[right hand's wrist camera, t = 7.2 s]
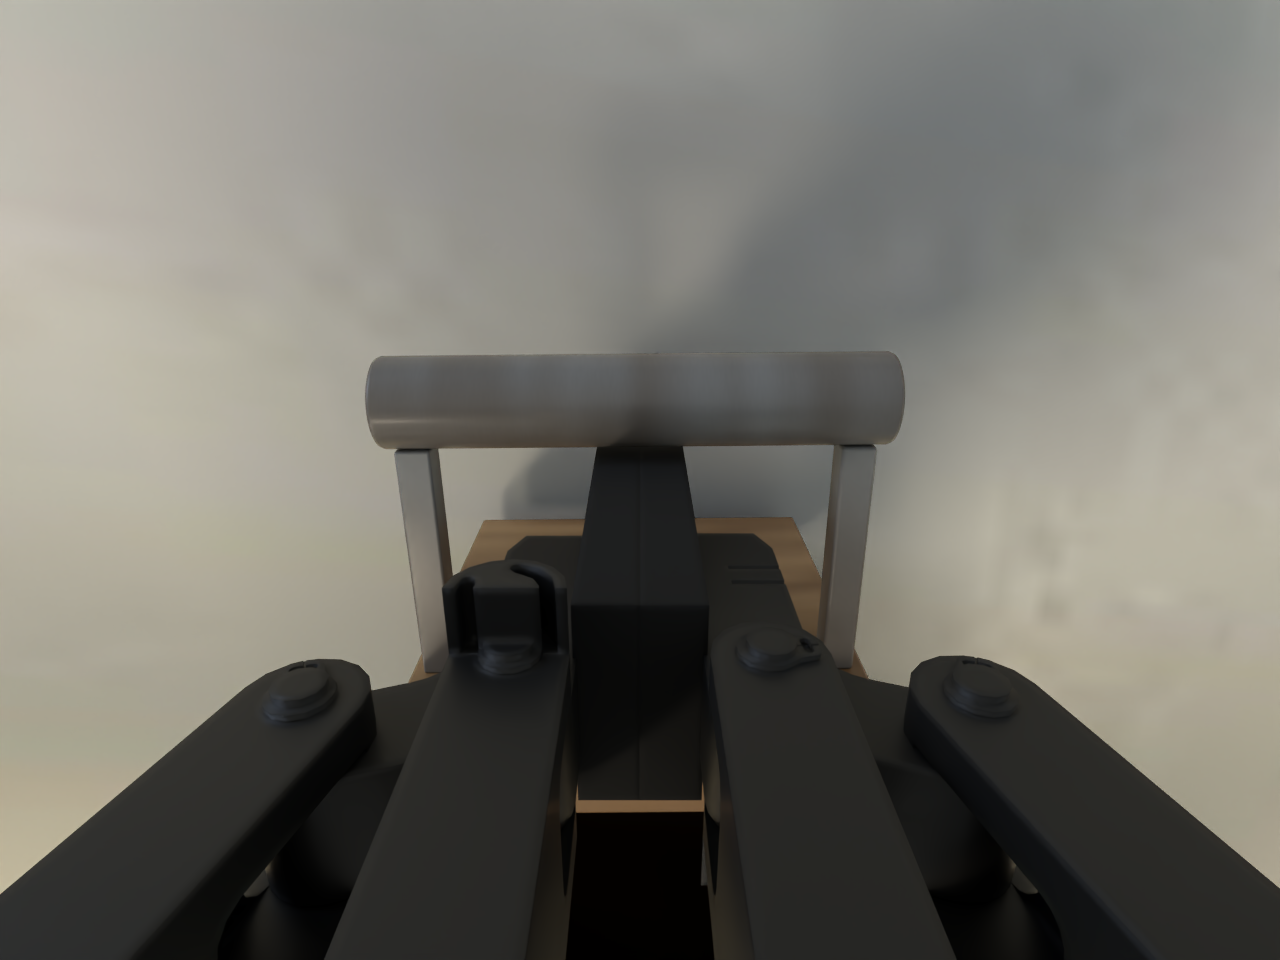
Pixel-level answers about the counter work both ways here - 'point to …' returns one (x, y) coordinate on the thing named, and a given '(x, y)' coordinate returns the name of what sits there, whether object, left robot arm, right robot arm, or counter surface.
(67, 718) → the counter surface
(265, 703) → the right robot arm
